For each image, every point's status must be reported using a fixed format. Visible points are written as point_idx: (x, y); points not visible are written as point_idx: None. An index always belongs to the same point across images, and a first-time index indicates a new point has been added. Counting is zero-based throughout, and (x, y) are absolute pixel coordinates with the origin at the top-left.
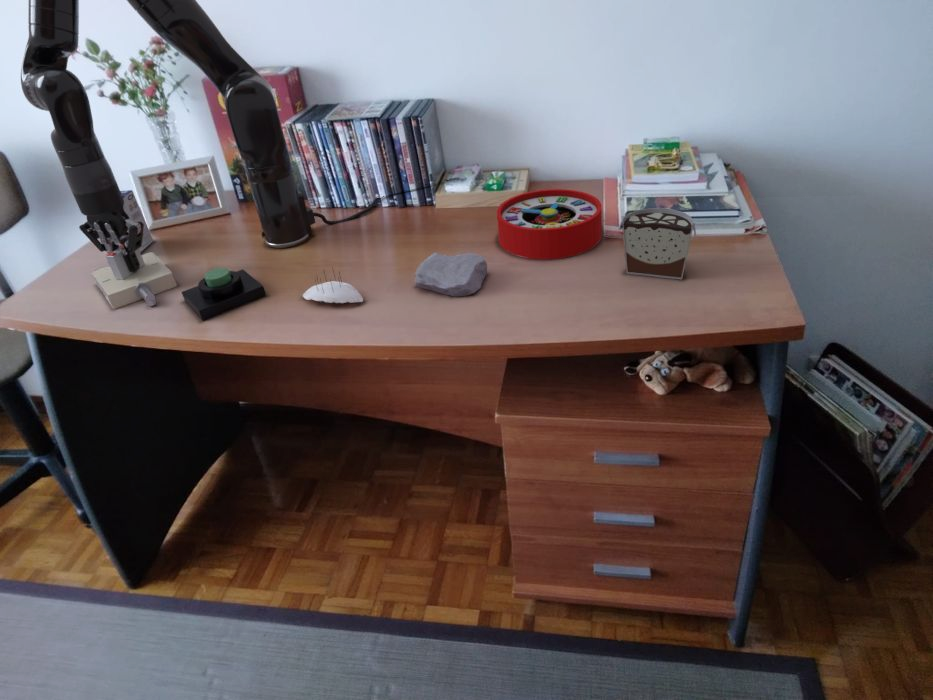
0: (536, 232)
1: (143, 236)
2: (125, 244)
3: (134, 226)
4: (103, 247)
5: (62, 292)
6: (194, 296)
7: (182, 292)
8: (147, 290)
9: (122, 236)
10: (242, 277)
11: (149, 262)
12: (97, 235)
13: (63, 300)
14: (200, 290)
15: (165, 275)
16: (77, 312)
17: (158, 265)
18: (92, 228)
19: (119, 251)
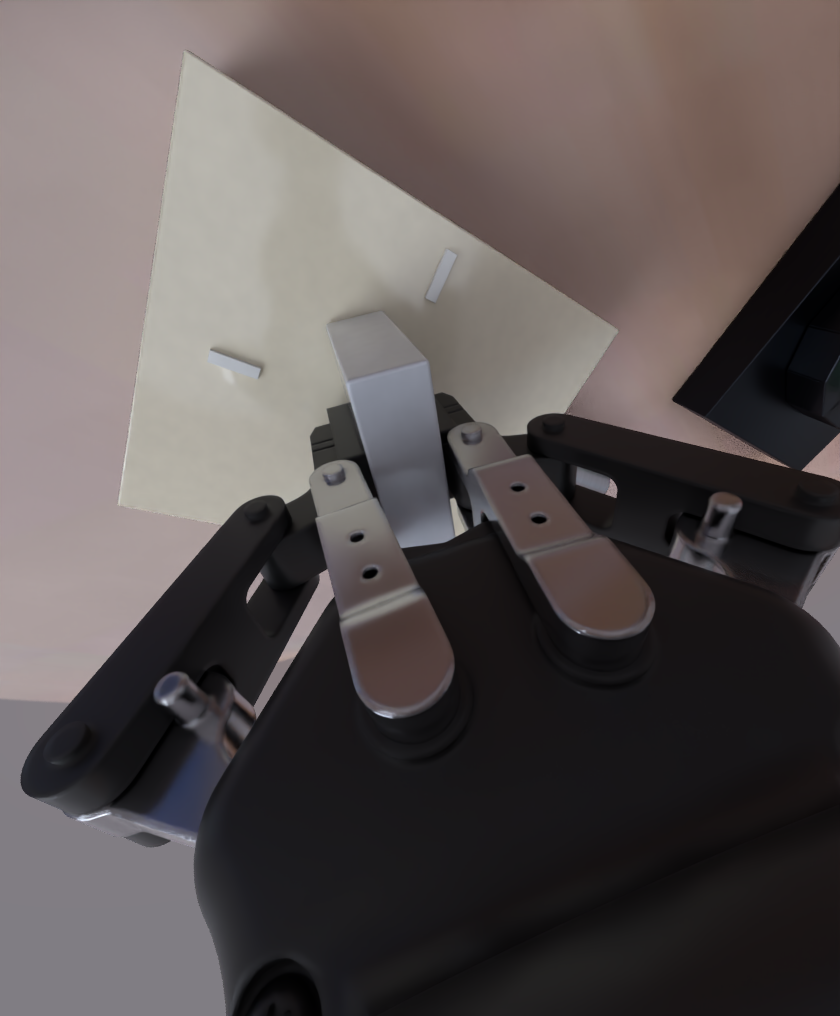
0: None
1: None
2: (382, 438)
3: (811, 587)
4: (316, 578)
5: (49, 565)
6: (766, 421)
7: (712, 419)
8: (581, 478)
9: (482, 521)
10: None
11: (379, 268)
12: (249, 641)
13: (159, 587)
14: (817, 417)
15: (595, 363)
16: (326, 592)
17: (481, 285)
18: (247, 731)
19: (443, 522)
